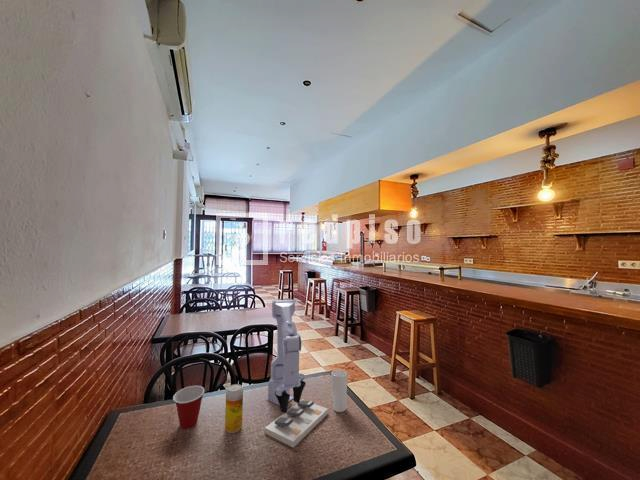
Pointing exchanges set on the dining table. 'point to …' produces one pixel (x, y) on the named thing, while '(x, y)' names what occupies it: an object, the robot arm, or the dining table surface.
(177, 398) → the plastic cup
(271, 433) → the switch panel
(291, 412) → the block
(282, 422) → the block
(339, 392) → the drinking glass
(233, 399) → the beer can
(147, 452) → the dining table surface
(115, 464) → the dining table surface
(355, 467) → the dining table surface
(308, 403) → the block
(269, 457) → the dining table surface
